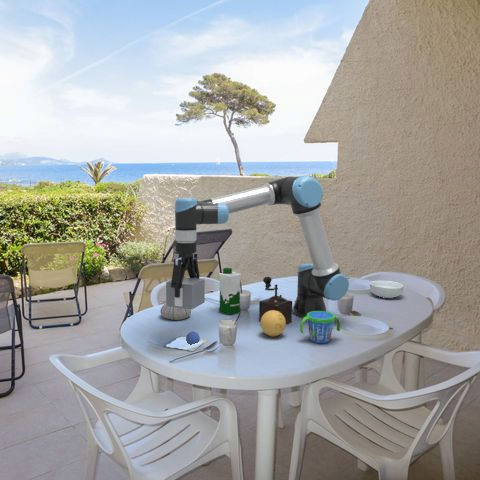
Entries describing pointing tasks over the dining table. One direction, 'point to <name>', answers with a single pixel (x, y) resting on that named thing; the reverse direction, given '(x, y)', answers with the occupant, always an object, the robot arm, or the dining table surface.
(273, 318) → the stress ball
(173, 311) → the sea urchin shell
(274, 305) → the coffee grinder
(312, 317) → the snack cup
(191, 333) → the ball
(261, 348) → the dining table surface
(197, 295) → the grey cube
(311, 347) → the dining table surface
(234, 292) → the milk carton
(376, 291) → the cereal bowl
